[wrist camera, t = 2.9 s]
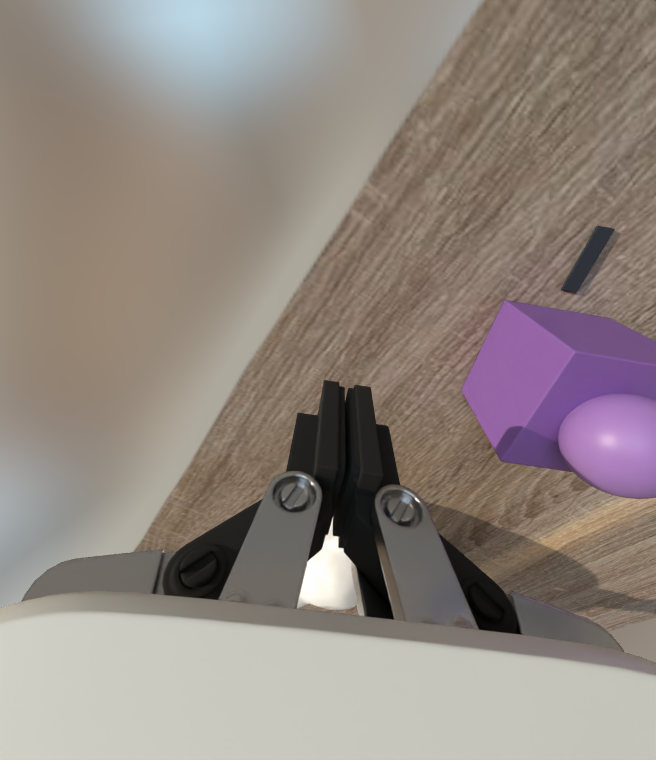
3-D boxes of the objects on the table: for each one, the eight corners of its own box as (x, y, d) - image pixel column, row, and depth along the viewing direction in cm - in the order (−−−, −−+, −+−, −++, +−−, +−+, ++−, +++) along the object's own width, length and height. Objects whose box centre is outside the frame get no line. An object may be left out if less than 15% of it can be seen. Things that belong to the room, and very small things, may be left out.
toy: (503, 299, 16) (646, 403, 9) (610, 318, 17) (841, 434, 9) (460, 390, 20) (535, 525, 12) (549, 404, 20) (681, 545, 12)
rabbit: (280, 539, 30) (247, 721, 20) (228, 478, 25) (150, 674, 15) (402, 516, 27) (436, 715, 17) (368, 442, 22) (387, 654, 12)
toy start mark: (597, 225, 14) (598, 226, 14) (613, 228, 14) (614, 229, 14) (560, 289, 16) (561, 289, 16) (575, 291, 16) (576, 292, 16)
